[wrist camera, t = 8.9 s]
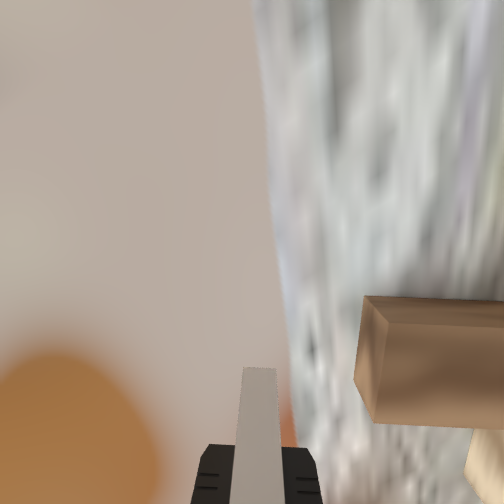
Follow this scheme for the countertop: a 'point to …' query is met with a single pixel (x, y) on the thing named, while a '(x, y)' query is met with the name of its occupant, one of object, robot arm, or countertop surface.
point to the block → (432, 362)
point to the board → (486, 465)
